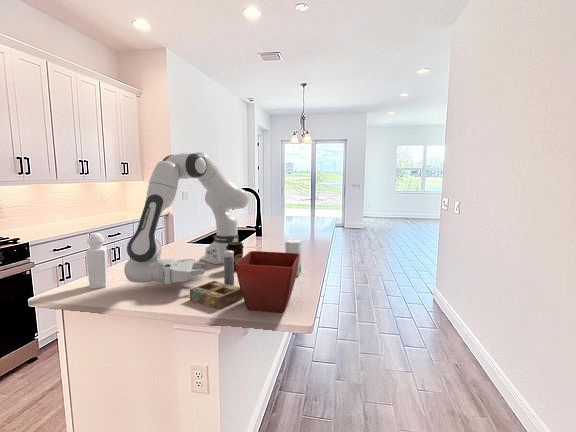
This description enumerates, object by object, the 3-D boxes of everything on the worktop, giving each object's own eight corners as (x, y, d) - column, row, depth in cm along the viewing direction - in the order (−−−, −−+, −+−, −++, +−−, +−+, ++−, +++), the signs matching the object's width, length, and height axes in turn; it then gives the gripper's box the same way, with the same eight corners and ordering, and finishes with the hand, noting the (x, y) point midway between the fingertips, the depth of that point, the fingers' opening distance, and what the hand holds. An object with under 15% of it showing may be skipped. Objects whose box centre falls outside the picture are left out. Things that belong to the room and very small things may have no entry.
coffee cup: (247, 267, 160) (247, 242, 159) (239, 272, 152) (239, 245, 151) (231, 266, 163) (231, 240, 162) (223, 270, 155) (222, 244, 154)
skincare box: (298, 276, 147) (299, 243, 145) (284, 275, 148) (284, 242, 146) (301, 271, 155) (301, 239, 153) (288, 270, 156) (288, 238, 154)
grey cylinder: (222, 284, 135) (221, 251, 134) (229, 282, 138) (228, 250, 137) (229, 286, 133) (228, 253, 131) (236, 283, 136) (235, 251, 135)
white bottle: (90, 284, 134) (87, 232, 131) (108, 282, 136) (105, 231, 134) (88, 289, 128) (84, 234, 125) (107, 287, 130) (103, 233, 128)
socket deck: (189, 300, 118) (188, 288, 117) (214, 290, 128) (213, 280, 127) (218, 309, 110) (218, 297, 109) (242, 298, 120) (242, 287, 119)
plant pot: (292, 318, 103) (292, 266, 101) (234, 313, 107) (234, 263, 105) (299, 296, 122) (300, 253, 120) (250, 293, 125) (250, 250, 123)
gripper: (173, 270, 140) (206, 268, 143) (165, 285, 121) (203, 283, 123) (172, 256, 140) (205, 254, 142) (164, 269, 120) (203, 267, 122)
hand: (204, 268), depth 133 cm, fingers open, 8 cm apart
